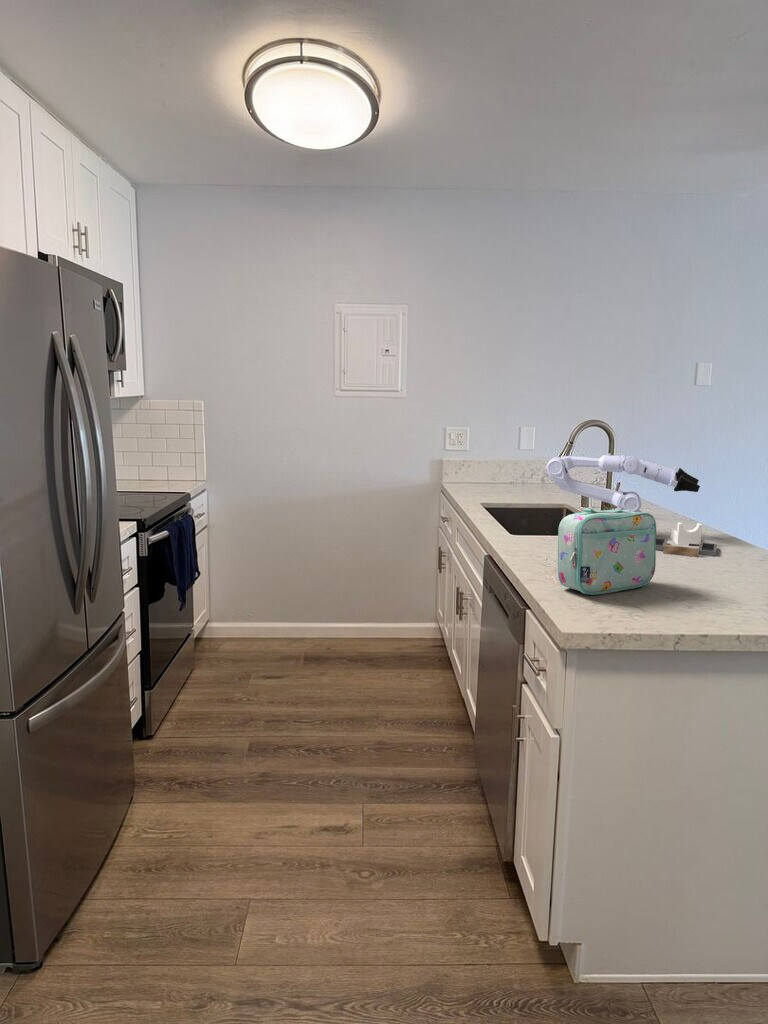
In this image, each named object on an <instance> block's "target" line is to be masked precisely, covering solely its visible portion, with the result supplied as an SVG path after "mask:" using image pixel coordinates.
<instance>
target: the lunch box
mask: <svg viewBox="0 0 768 1024" xmlns="http://www.w3.org/2000/svg"><path fill="white" fill-rule="evenodd" d="M656 537H657V523H656V519H655V517H654V516H653V515H652V514H651V513H649V512H646V511H642V512H632V511H628V510H620V509H607V510H604V509H603V510H594V509H593V508H585V507H584V508H583V511H581V512H575V513H572V514H571V513H570V514H568V515H566V516H564V517H563V518H562V519H561V521H560V522H559V525H558V532H557V577H558V580H559V583H560V584H561V585H562V586H563V587H565V588H568V589H570V590H575V591H578V592H580V593H581V594H584V595H592V596H594V595H595V596H596V595H605V594H610V593H611V594H612V593H616V592H621V591H625V590H632V589H637V588H640V587H641V588H642V587H644V586H646V585H648V584H649V583H650V582H651V581H652V579H653V577H654V575H655V572H656V565H657V564H656V562H657V559H656V557H657V556H656V554H657V553H656V552H657V550H656Z"/></svg>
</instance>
